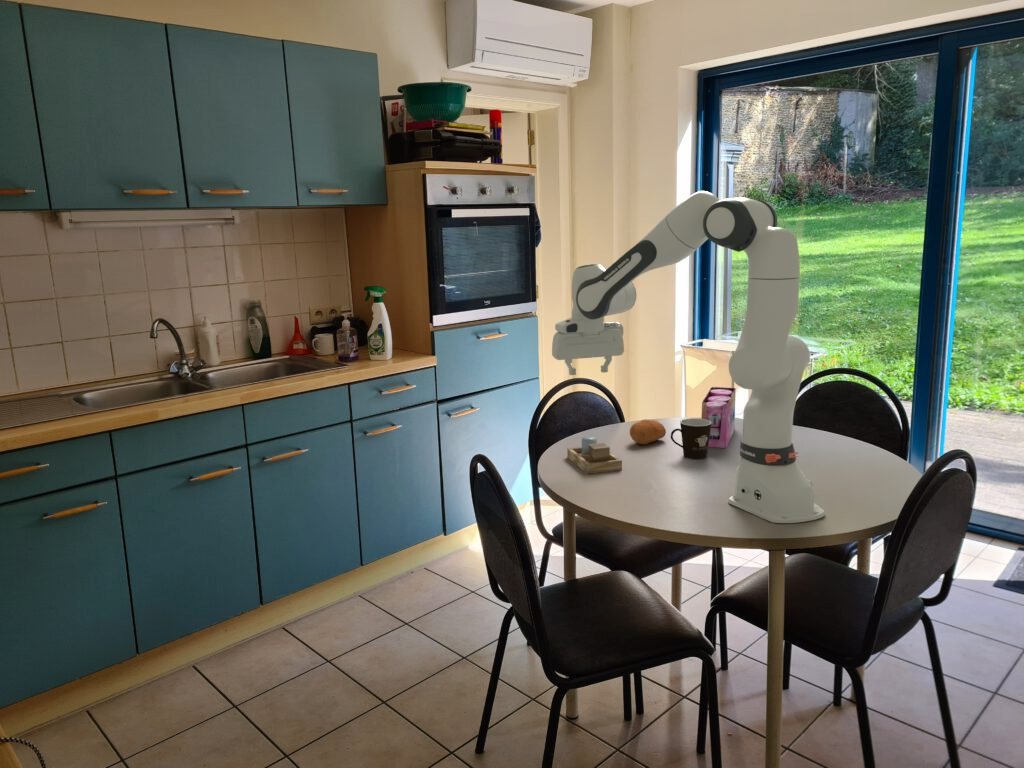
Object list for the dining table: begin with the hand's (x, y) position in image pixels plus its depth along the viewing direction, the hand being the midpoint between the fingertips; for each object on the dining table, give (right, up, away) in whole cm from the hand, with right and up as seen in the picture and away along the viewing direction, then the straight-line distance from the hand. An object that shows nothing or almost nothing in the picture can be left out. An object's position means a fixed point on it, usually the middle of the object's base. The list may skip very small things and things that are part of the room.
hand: (588, 373), depth 214 cm
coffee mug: (+29, -24, +6) cm, 38 cm away
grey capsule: (+1, -23, +5) cm, 24 cm away
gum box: (+42, -20, +24) cm, 52 cm away
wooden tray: (+2, -25, +2) cm, 25 cm away
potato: (+20, -21, +21) cm, 36 cm away
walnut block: (+3, -25, -2) cm, 25 cm away
